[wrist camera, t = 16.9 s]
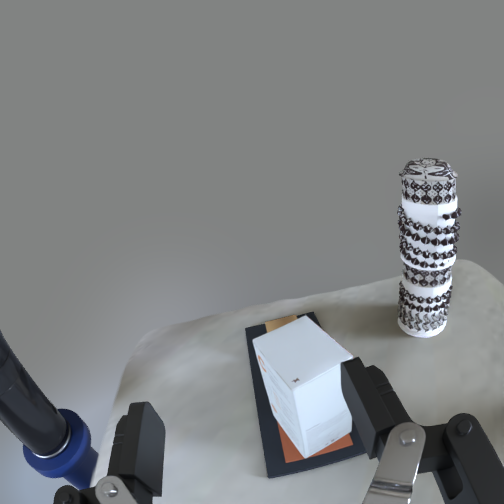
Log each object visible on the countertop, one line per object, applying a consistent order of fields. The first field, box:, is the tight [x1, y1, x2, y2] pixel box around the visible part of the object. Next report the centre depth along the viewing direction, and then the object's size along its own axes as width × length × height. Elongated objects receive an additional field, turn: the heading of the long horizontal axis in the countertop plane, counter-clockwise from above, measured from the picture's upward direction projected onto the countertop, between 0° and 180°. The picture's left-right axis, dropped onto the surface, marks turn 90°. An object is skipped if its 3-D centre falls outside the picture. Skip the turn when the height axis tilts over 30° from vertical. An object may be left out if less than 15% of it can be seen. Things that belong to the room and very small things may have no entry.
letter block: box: [265, 315, 298, 333], centre depth 46 cm, size 5×5×3 cm
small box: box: [253, 315, 353, 458], centre depth 29 cm, size 8×6×13 cm
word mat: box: [245, 312, 366, 478], centre depth 39 cm, size 12×28×1 cm, turn 6°
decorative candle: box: [397, 158, 461, 338], centre depth 38 cm, size 9×9×25 cm
